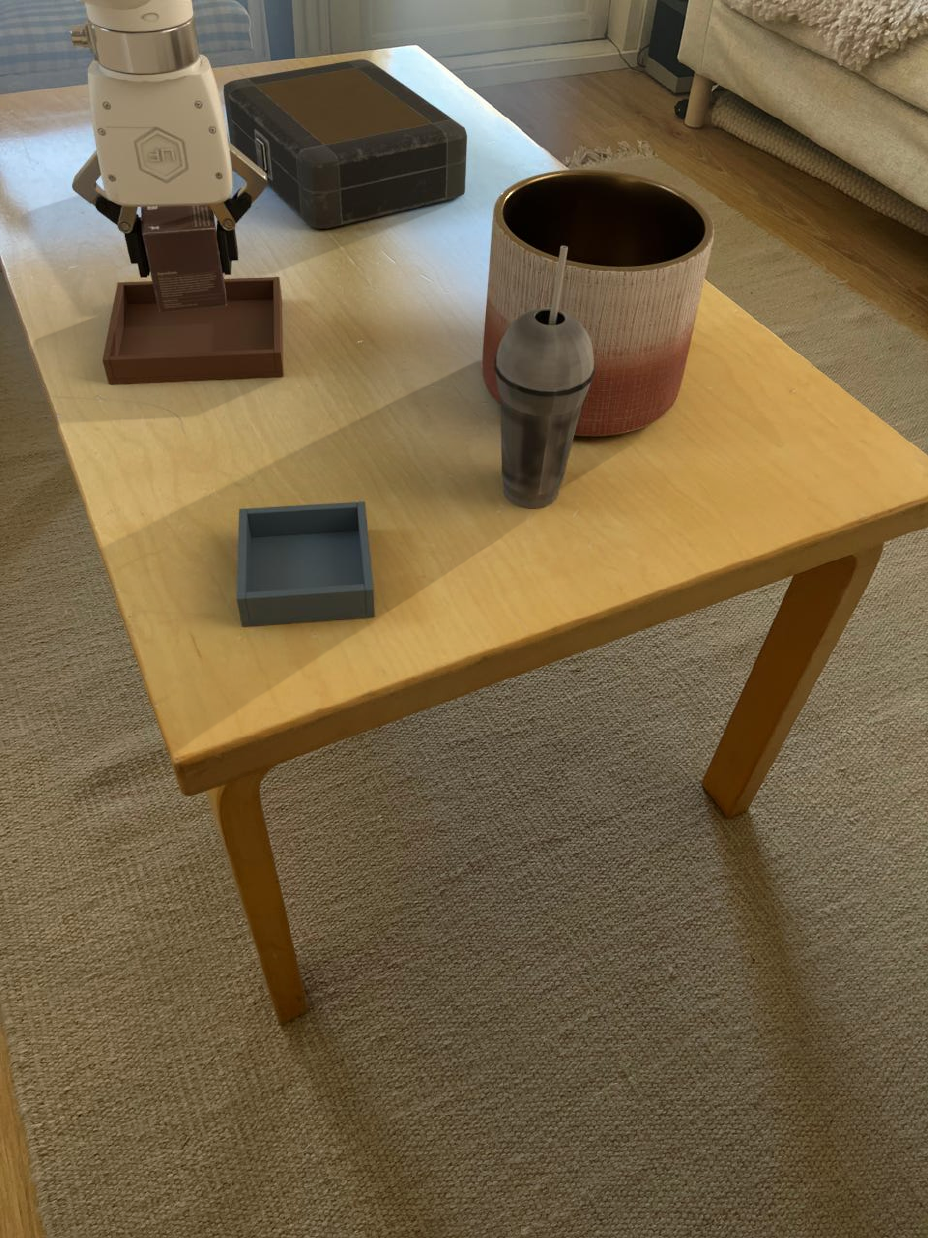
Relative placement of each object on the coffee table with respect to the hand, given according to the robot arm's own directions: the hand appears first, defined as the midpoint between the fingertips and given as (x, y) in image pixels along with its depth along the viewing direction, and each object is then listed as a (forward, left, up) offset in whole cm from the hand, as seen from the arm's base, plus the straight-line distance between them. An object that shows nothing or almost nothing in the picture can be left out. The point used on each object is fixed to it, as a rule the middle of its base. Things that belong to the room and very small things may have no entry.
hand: (186, 266), depth 87 cm
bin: (+9, -32, -7) cm, 34 cm away
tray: (0, 0, -7) cm, 7 cm away
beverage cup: (+27, -24, -8) cm, 37 cm away
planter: (+34, -10, -7) cm, 36 cm away
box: (0, 0, -3) cm, 3 cm away
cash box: (+15, +35, -7) cm, 39 cm away
